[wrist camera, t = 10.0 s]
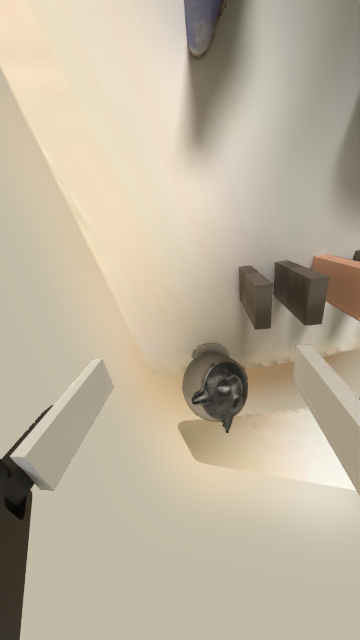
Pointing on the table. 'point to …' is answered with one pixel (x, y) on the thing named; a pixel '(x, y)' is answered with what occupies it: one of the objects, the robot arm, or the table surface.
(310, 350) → the robot arm
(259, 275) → the domino
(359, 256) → the domino
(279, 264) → the domino
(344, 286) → the domino
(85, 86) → the table surface
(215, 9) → the flask
